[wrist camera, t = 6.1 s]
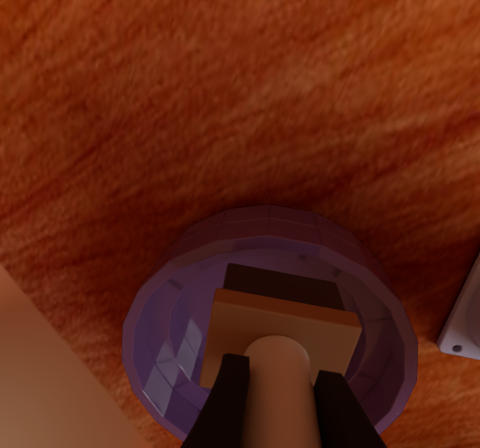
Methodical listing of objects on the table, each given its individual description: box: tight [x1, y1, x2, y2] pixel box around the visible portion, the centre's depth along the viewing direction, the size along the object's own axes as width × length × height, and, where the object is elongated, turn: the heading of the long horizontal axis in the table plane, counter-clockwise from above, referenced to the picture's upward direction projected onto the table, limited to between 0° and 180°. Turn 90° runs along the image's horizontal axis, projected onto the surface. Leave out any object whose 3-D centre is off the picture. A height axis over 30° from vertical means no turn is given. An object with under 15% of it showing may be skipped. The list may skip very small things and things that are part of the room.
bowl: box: [122, 205, 418, 442], centre depth 19 cm, size 14×14×4 cm
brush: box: [199, 263, 362, 448], centre depth 9 cm, size 4×3×9 cm
